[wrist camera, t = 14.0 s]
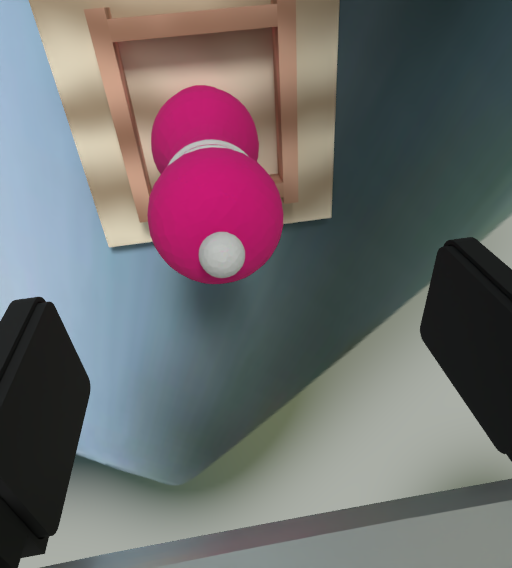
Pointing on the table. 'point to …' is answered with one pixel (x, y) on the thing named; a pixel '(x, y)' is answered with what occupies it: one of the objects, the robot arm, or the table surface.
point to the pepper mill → (211, 189)
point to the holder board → (189, 72)
